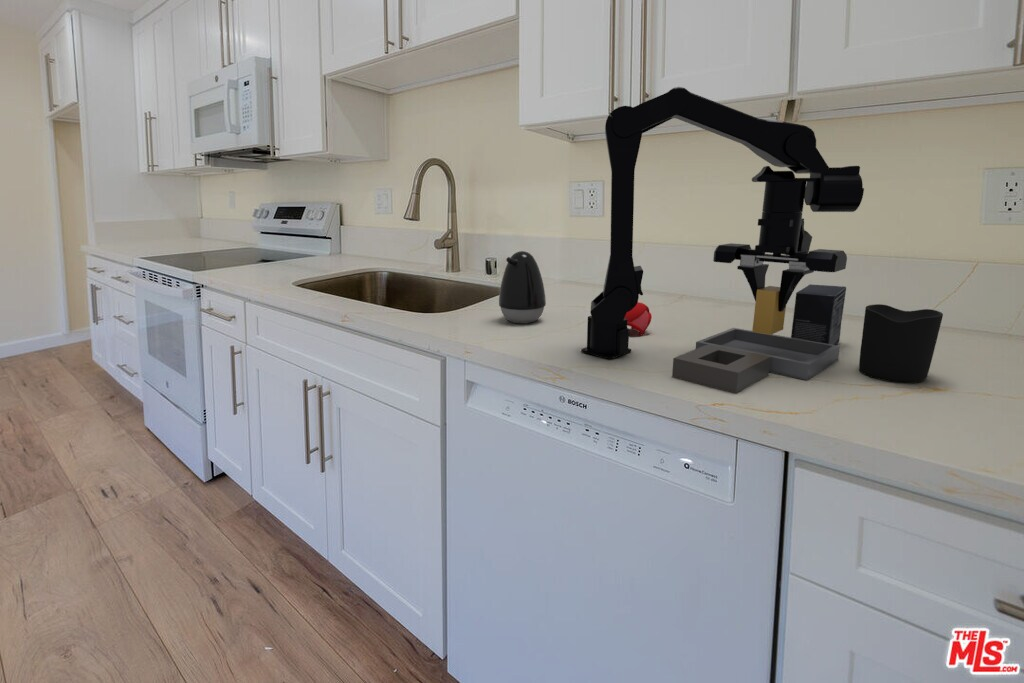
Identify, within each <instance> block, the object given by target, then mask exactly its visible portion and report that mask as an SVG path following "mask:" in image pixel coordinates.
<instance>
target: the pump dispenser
mask: <svg viewBox="0 0 1024 683" xmlns="http://www.w3.org/2000/svg"><path fill="white" fill-rule="evenodd" d="M505 261H506V262H507V264H506V266H505V268H504V272H503V276H502V278H501V283H500V287H499V296H498V306H499V307H500V310H501V314H502V315H503V317H504V318H505V319H506V320H508V321H509V322H511V323H513V324H514V323H515V324H530V323H534V322H536V321H537V320H538V319H539V318H540V317H541V316H542V315H543V312H544V309H545V307H546V304H547V300H546V298H547V297H546V291H545V285H544V281H543V277H542V274H541V270H540V268H539V265H538V263H537V261H536V259H535V258H534V256H533V254H531V253H530V252H527V251H524V250H521V251H520V250H519V251H517V252H515V253H513V254H512V255H511V256H508V257H507V258H506V260H505Z"/></svg>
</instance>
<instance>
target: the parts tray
mask: <svg viewBox="0 0 1024 683" xmlns="http://www.w3.org/2000/svg"><path fill="white" fill-rule="evenodd" d="M707 344H711V345H716V346H721V347H726V348H731V349H736V350H741V351H746V352H751V353H757V354H762V355H767V356H771V360H770V368H769V373H770V374H771V373H772V374H776V375H781V376H785V377H790V378H794V379H797V380H798V379H799V380H803V381H808V380H810V379H812V378H813V377H815V376H816V375H818V374H819V373H821V372H822V371H824V370H825V369H827V368H829V367H830V366H832V365H834V364H835V363H836V362H838V361H839V358H840V356H839V355H840V349H841V345H838V344H837V345H832V344H826V343H820V342H814V341H808V340H803V339H797V338H791V336H785V335H778V334H772V335H769V334H763V333H757V332H752V330H751V329H744V328H738V327H737V328H736V327H731V328H729V329H727V330H724V331H721V332H719V333H716V334H713V335H711V336H708V337H705V338H703V339H700V340H697V341H696V342H695V349H697V348H700V347H702V346H705V345H707Z"/></svg>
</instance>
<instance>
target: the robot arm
mask: <svg viewBox="0 0 1024 683" xmlns="http://www.w3.org/2000/svg"><path fill="white" fill-rule="evenodd" d="M673 119H677V120H679V121H682V122H685V123H687V124H690V125H692V126H695V127H697V128H700V129H703V130H705V131H708V132H710V133H713V134H715V135H717V136H720V137H724V138H726V139H729V140H731V141H733V142H736V143H738V144H741V145H742V146H745V147H746V148H748V149H749V150H750V151H751V152H753V153H754V154H755V155H756V156H758V157H759V158H761V159H763V160H764V161H765V162H767V163H769V164H770V165H772V166H773V167H778V168H788V169H789V170H773V169H772V168H771V166H769V165H765V166H763V167H762V168H761V170H760V171H759V172H758V173H757V174H756V175H755V176H753V177H752V178H751V182H753V183H765V185H764V192H763V202H762V210H761V211H762V212H761V218H757V219H758V220H757V226H760V229H759V238H758V244H756V245H755V247H754V249H752V248H751V245H750V244H747V243H745V244H744V243H725V244H719V245H718V246H716V248H715V249H714V252H713V259H712V260H713V262H715V263H723V264H732V263H733V262H734V261H735V260H737V261H739V265H737V267H736V268H737V270H741V271H742V273H743V275H744V277H745V278H746V281H747V283H748V285H749V287H750V290H751V293H752V295H753V298H754V300H755V303H756V294H757V289H761V288H764V287H766V276H767V271H768V269H769V266H770V265H769V263H780V264H788V268H787V269H783V270H782V271H781V278H780V286H779V287H780V293H779V301H778V311H780V312H781V311H783V310H784V308H785V306H786V307H787V304H788V303H789V301H790V299H791V297H792V295H793V293H794V291H795V289H796V287H797V286H798V284H799V283H800V282H801V280H802V279H803V277H805V275H809V274H812V273H814V272H821V273H824V272H825V273H836V272H839V271H843V270H845V269H846V268H847V260H848V257H847V253H846V252H845V251H844V250H841V249H840V250H839V249H837V250H836V249H822V248H818V249H814V250H810V247H811V243H812V239H813V236H812V234H810V233H809V232H808V231H807V230H805V227H804V226H805V218H803V210H804V203H805V205H806V206H810V210H811V211H812V212H813V213H854V212H856V211H857V210H858V209H859V207H860V205H861V203H862V200H863V198H864V197H863V196H864V192H865V188H864V187H863V185H864V184H863V178H862V176H861V173H860V171H861V170H860V169H861V167H860V165H849V166H843V167H842V166H841V167H838V166H837V167H830V166H829V165H828V164H827V162H826V161H825V159H824V157H823V156H822V154H821V153H820V151H819V149H818V148H817V138H816V135H815V131H814V130H813V129H812V128H811V127H808V126H806V125H804V124H799V123H793V122H788V121H783V120H782V121H781V120H780V121H779V120H770V119H762V118H760V117H759V118H758V117H756V116H753V115H750V114H747V113H745V112H742V111H740V110H738V109H736V108H735V109H734V108H732V107H729V106H727V105H725V104H722V103H720V102H717V101H714V100H711V99H709V98H707V97H704V96H702V95H698V94H695V93H693V92H691V91H689V90H688V89H687V88H685V87H682V86H675V87H673V88H671V89H670V90H668V91H667V92H665V93H663V94H661V95H657V96H656V97H652V98H650V99H649V100H646V101H644V102H641V103H639V104H637V105H635V106H630V105H621V106H618V107H617V108H615V109H613V110H612V111H611V112H610V113H609V114H608V116H607V117H606V121H605V125H604V126H605V127H604V135H605V140H606V148H607V152H608V159H609V165H610V166H609V167H610V171H611V172H610V173H611V177H610V178H611V179H610V182H611V183H610V185H611V186H610V189H611V190H610V195H611V196H610V240H609V241H610V242H609V243H610V244H609V245H610V247H609V248H610V251H609V252H610V254H609V259H608V263H607V269H606V273H605V279H604V283H603V291H602V292H600V293H599V294H598V295H597V296H596V297H595V298H594V299H593V300H591V302H590V316H587V325H586V326H587V332H586V334H587V335H586V347H584V348H581V349H580V350H581V351H580V352H581V353H585V354H589V355H592V356H596V357H600V358H604V359H609V360H612V359H615V358H618V357H620V356H624V355H627V354H630V353H632V348H629V341H630V329H629V328H628V325H627V323H628V319H625V318H624V317H625V315H626V313H627V312H629V311H631V310H632V309H633V308H634V307H635V306H636V305H637V303H638V302H639V296H643V295H644V293H643V290H642V280H643V275H644V269H643V268H642V266H641V265H636V266H635V264H634V258H633V250H634V248H633V245H634V243H633V242H634V241H633V240H634V239H633V238H634V212H635V211H634V208H635V207H634V203H635V202H634V201H635V171H636V165H637V161H638V160H637V159H638V155H639V152H640V146H641V142H642V141H641V140H642V136H643V134H644V133H646V132H649V131H650V130H653V129H655V128H656V127H659V126H660V125H662V124H664V123H667V122H668V121H670V120H673ZM795 174H797V175H799V174H800V175H801V174H805V175H806V174H809V177H796V176H795ZM764 262H765V263H764ZM766 262H768V264H767V263H766Z"/></svg>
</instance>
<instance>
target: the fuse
mask: <svg viewBox="0 0 1024 683" xmlns="http://www.w3.org/2000/svg"><path fill="white" fill-rule="evenodd" d="M779 293H780V286H773V285H768V286H765V287H764V288H761V289H757V294H756V302H755V304H754V312H753V323H752V330H751V331H752V332H757V333H763V334H769V335H772V334H773V335H775V334H776V333H778V332H781V331H783V330H784V325H785V324H784V323H785V317H786V311H787V310H786V308H787V305H786V306H785V308H784V310H783V311H781V312H780V311H778V301H779Z"/></svg>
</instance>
